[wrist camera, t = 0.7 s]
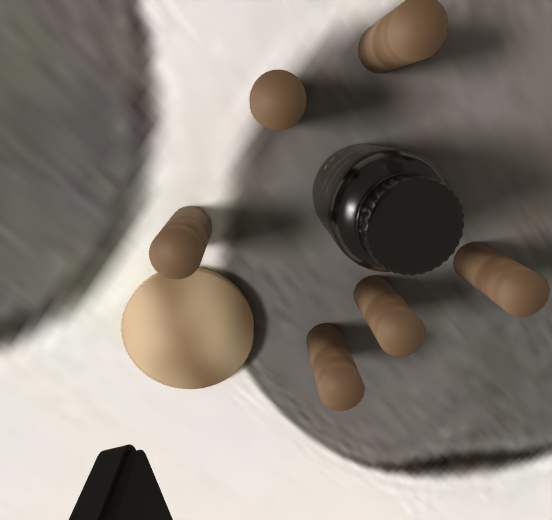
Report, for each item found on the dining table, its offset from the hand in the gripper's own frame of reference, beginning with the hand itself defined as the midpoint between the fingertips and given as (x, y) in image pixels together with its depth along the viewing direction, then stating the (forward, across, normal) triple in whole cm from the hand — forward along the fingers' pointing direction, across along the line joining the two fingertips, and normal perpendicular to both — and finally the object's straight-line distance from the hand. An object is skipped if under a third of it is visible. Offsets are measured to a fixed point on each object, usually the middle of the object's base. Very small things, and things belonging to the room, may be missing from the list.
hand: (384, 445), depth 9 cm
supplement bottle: (+25, -5, 0) cm, 25 cm away
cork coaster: (+25, +10, +7) cm, 27 cm away
